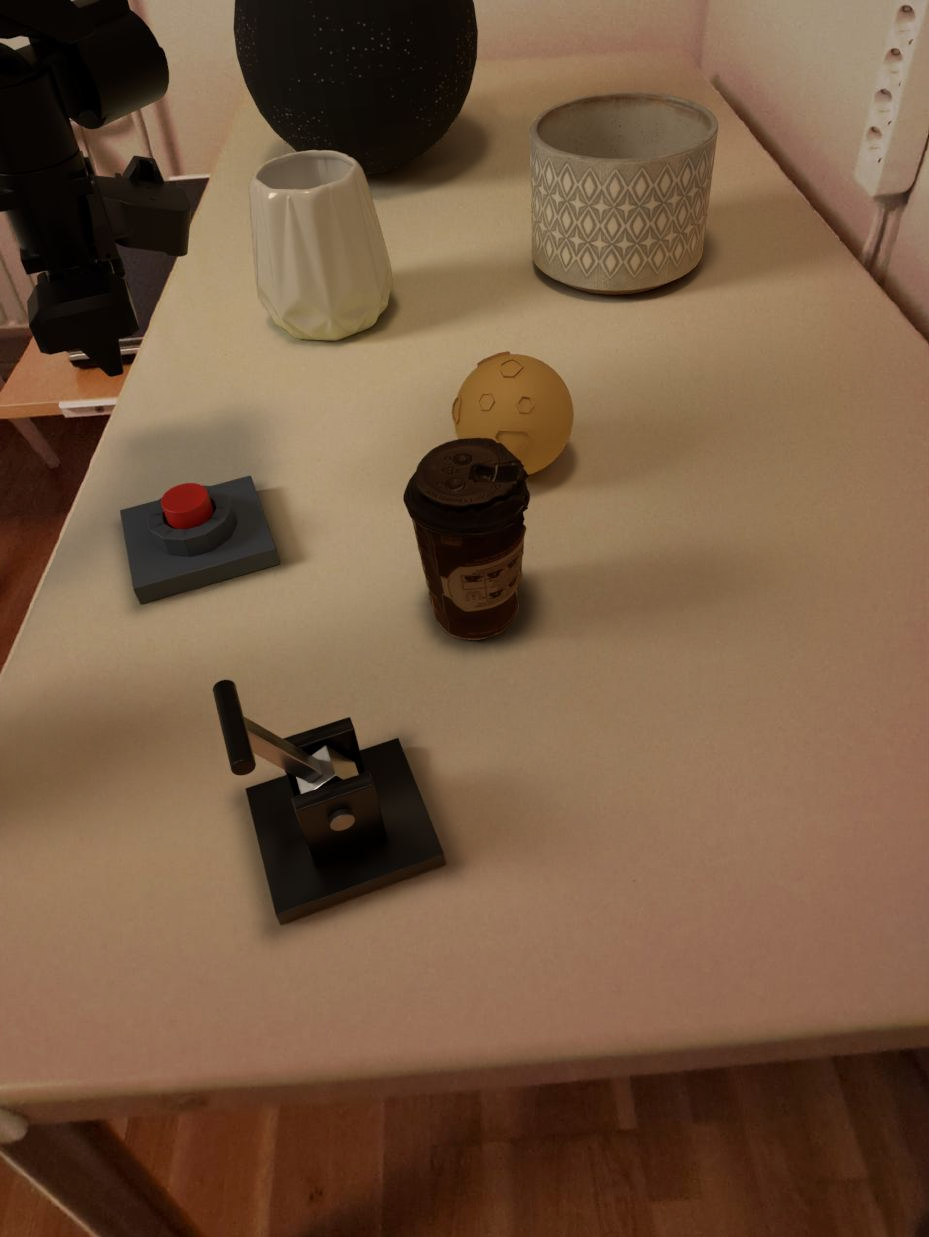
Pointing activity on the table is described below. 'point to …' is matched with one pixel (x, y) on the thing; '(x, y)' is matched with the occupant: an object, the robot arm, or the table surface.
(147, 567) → the button block
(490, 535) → the coffee cup
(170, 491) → the button
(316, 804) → the lever bracket
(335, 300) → the vase
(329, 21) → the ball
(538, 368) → the stress ball
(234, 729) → the switch lever
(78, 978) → the table surface
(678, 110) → the planter
